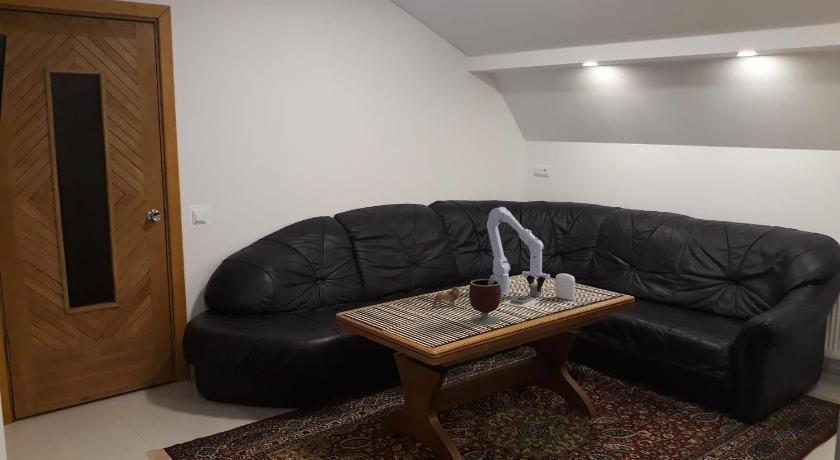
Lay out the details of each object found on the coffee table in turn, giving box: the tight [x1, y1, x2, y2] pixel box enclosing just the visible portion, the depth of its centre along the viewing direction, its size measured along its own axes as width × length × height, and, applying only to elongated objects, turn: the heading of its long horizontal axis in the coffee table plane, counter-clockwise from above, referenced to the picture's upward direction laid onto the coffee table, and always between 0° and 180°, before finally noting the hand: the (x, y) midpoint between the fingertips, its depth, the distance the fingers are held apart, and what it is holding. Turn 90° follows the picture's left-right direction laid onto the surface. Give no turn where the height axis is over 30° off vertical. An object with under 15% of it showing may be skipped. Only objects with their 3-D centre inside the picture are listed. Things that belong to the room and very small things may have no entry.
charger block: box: [529, 282, 542, 298], centre depth 324 cm, size 4×5×6 cm
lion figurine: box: [431, 286, 461, 309], centre depth 306 cm, size 15×5×9 cm, turn 112°
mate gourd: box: [468, 273, 502, 326], centre depth 281 cm, size 16×14×20 cm
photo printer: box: [555, 273, 576, 301], centre depth 318 cm, size 10×4×12 cm, turn 39°
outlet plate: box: [500, 296, 540, 309], centre depth 311 cm, size 13×14×2 cm
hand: (535, 291), depth 324 cm, fingers closed on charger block, 3 cm apart
